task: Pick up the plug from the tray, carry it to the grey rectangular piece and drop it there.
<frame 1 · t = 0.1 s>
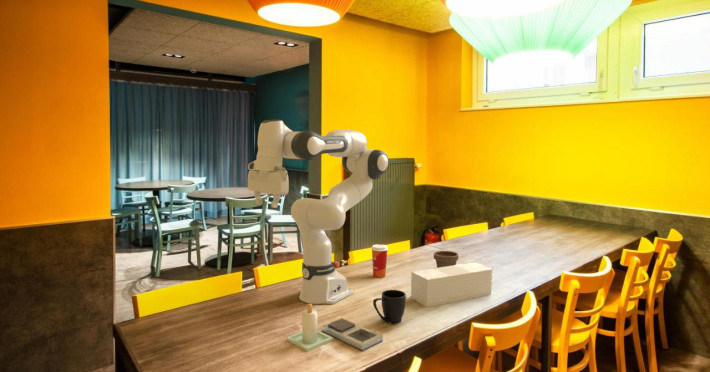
hand: (266, 206, 147), 39 cm above the table, tool pointing down, fingers open, 8 cm apart
paper cup: (379, 276, 195), on the table
mug: (388, 321, 146), on the table
tray: (309, 342, 130), on the table
grey rectangular piece: (351, 338, 133), on the table
flower pot: (445, 274, 198), on the table
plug: (309, 340, 130), point 1 cm above the table, touching tray
stack of papers: (451, 296, 170), on the table
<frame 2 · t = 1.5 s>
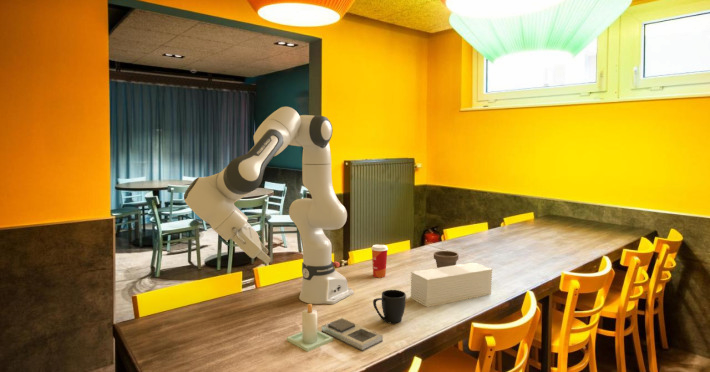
hand: (268, 257, 124), 27 cm above the table, tool tilted 45°, fingers open, 8 cm apart
nothing on the table moved.
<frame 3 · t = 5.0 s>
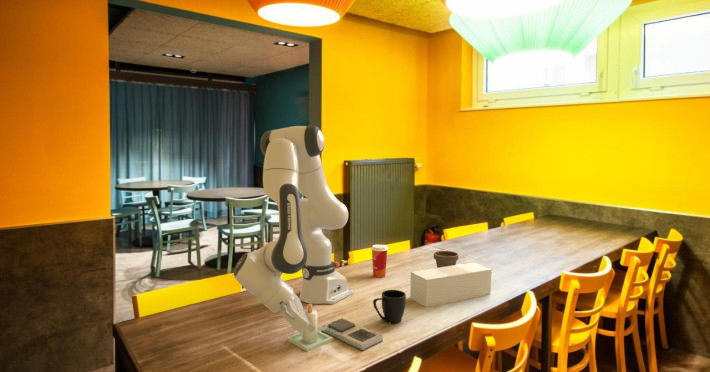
hand: (311, 325, 130), 5 cm above the table, tool tilted 45°, fingers closed on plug, 5 cm apart
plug: (309, 340, 130), point 1 cm above the table, touching gripper, tray
everything else where it was.
when the fingers open (8 cm above the table, at t = 9.6 s): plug drops 2 cm, resting on grey rectangular piece.
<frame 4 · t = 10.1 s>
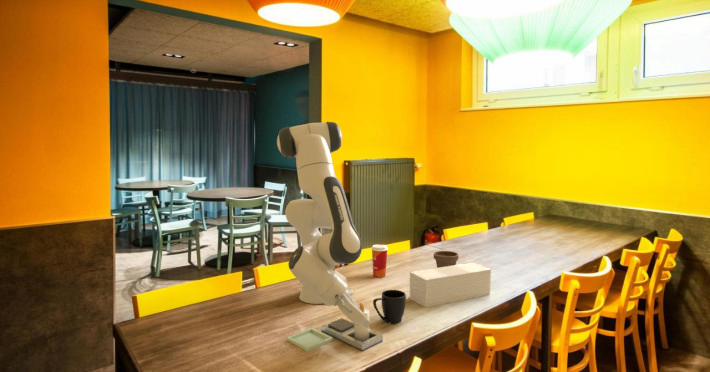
hand: (364, 318, 129), 8 cm above the table, tool tilted 45°, fingers open, 8 cm apart
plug: (361, 339, 130), point 1 cm above the table, touching grey rectangular piece
everything else where it was.
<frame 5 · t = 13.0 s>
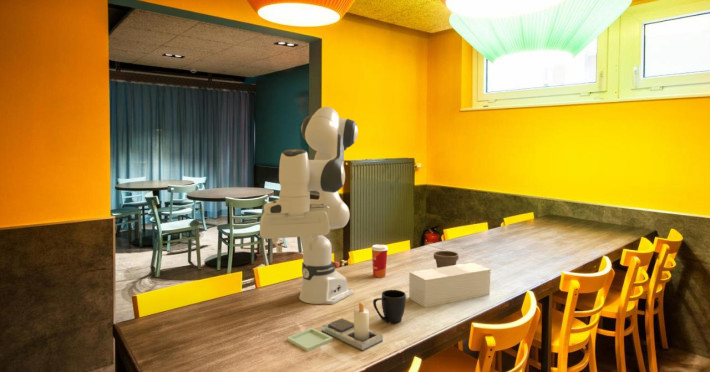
hand: (295, 251, 125), 29 cm above the table, tool pointing down, fingers open, 8 cm apart
nothing on the table moved.
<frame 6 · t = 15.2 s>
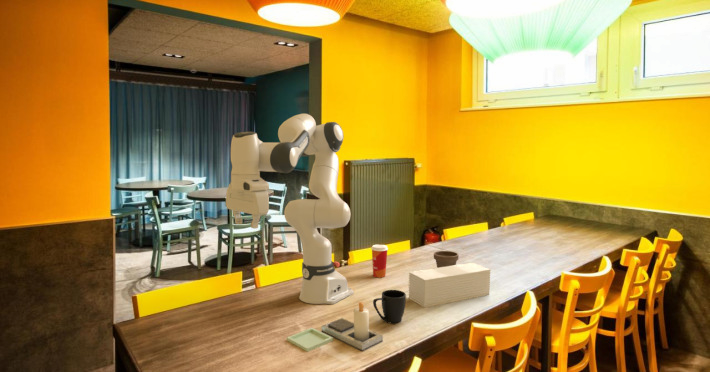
hand: (246, 225, 136), 34 cm above the table, tool pointing down, fingers open, 8 cm apart
at the end: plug 0.2 cm from the target spot on the grey rectangular piece, point 1.1 cm above the grey rectangular piece's base; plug tilted 2°; the gripper is holding nothing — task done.
